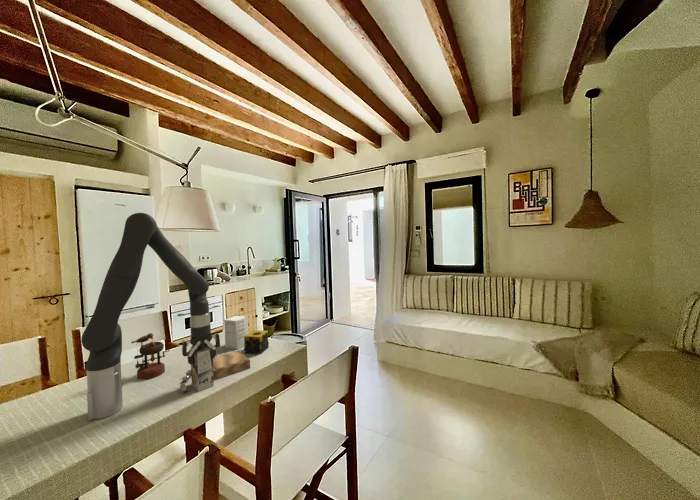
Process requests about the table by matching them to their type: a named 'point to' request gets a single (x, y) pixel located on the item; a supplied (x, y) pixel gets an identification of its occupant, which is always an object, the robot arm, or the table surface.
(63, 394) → the table surface
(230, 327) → the supplement box
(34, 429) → the table surface
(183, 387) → the bolt
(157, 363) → the music box
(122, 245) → the robot arm
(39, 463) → the table surface
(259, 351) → the yellow black tissue box
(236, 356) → the stand
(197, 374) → the coffee box
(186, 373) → the bolt
